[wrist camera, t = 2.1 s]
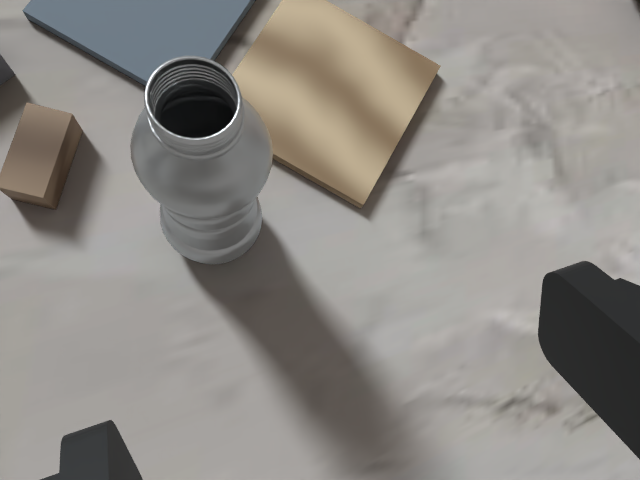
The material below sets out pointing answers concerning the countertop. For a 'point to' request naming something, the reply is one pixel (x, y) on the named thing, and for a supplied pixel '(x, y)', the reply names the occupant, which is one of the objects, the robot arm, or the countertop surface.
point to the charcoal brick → (5, 71)
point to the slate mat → (141, 29)
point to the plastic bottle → (202, 158)
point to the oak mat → (332, 94)
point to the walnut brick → (40, 156)
